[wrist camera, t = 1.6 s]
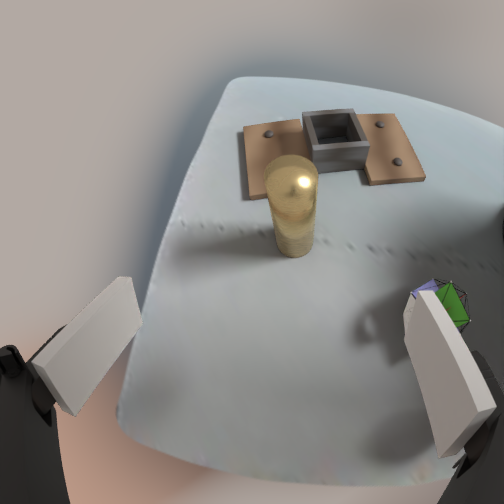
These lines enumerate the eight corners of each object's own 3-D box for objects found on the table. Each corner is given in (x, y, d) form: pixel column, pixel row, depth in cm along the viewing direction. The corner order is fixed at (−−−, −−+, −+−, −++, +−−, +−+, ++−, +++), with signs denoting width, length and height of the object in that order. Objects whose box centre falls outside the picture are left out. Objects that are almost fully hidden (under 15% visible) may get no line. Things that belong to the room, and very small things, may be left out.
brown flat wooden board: (393, 118, 36) (398, 96, 32) (423, 181, 32) (435, 160, 28) (244, 131, 39) (238, 108, 35) (251, 200, 34) (244, 178, 30)
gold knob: (309, 222, 32) (312, 151, 21) (315, 255, 31) (323, 193, 20) (274, 227, 33) (261, 158, 22) (278, 260, 31) (266, 201, 20)
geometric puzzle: (452, 264, 25) (449, 263, 20) (479, 318, 23) (483, 334, 17) (401, 298, 29) (383, 307, 23) (426, 350, 27) (414, 373, 21)
